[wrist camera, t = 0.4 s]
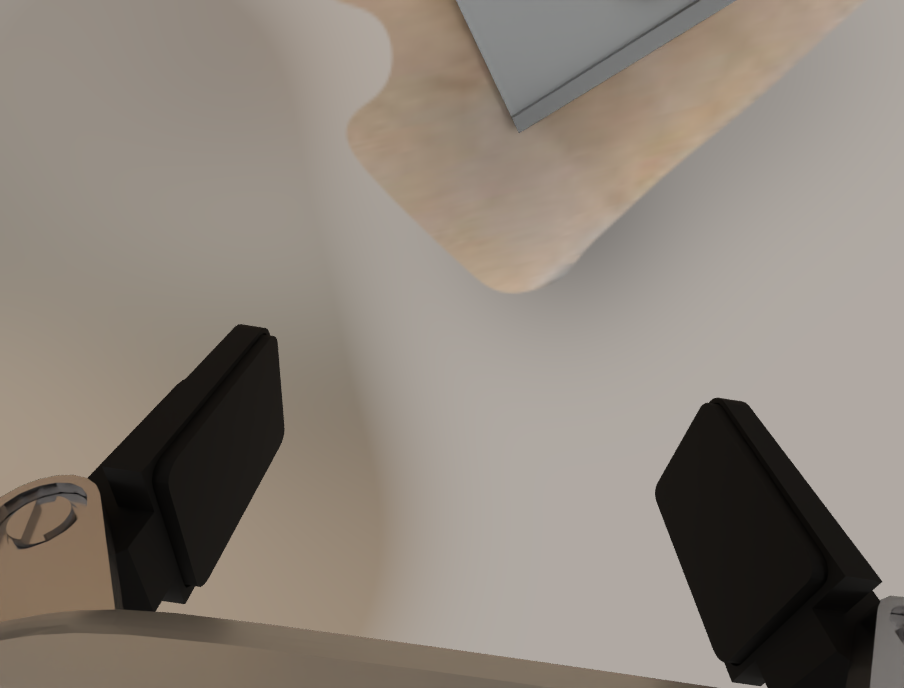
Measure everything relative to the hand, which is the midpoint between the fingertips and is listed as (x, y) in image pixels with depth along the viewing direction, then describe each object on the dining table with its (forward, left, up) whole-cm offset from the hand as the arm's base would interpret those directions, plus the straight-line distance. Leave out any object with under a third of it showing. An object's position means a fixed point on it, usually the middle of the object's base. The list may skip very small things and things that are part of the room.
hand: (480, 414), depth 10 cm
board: (-10, -6, -28) cm, 31 cm away
